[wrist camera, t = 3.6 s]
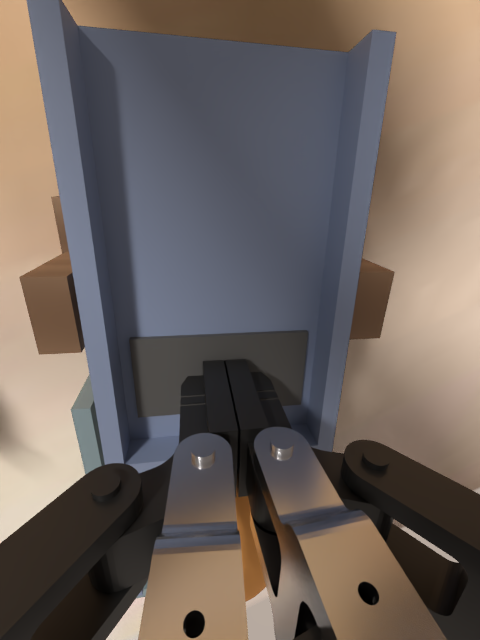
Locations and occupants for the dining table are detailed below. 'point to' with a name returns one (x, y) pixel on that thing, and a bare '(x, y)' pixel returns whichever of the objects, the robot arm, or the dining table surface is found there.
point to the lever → (210, 214)
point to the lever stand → (64, 319)
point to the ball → (248, 550)
